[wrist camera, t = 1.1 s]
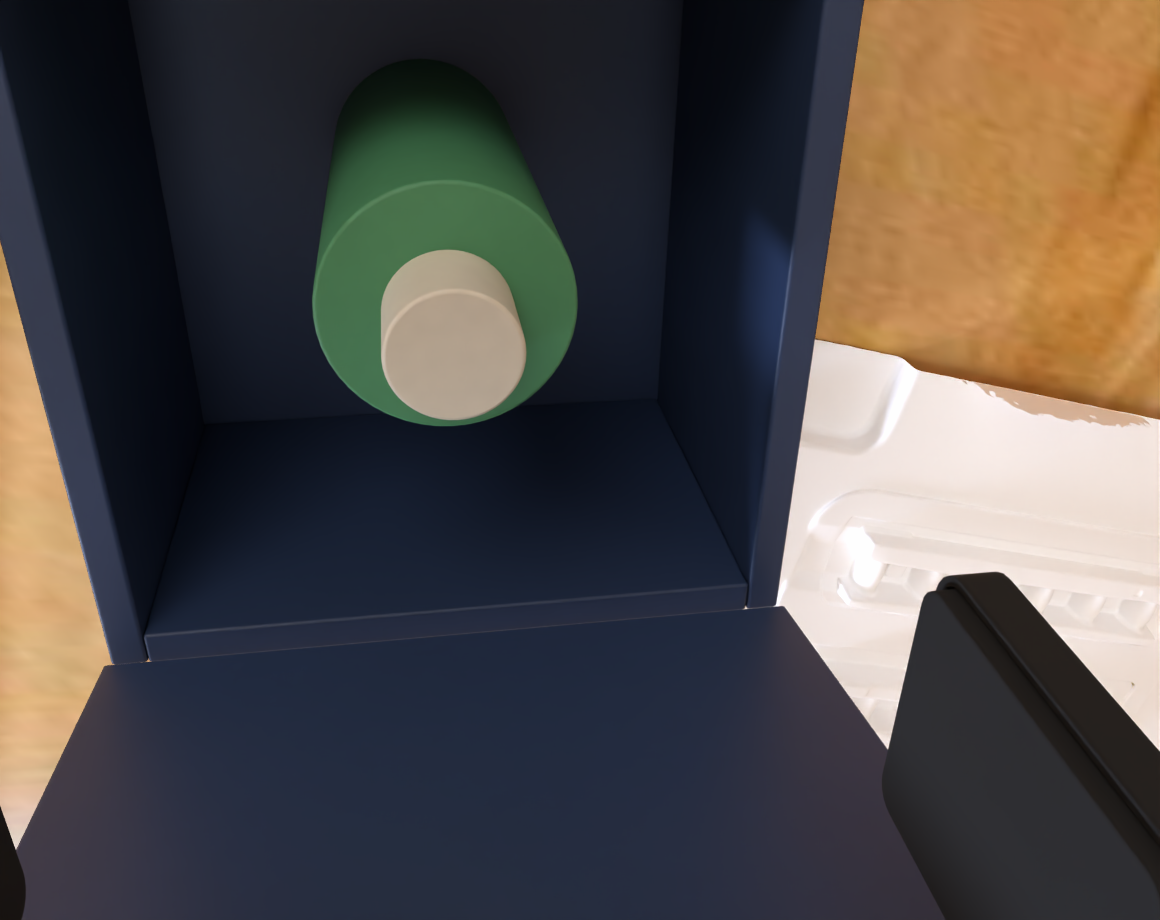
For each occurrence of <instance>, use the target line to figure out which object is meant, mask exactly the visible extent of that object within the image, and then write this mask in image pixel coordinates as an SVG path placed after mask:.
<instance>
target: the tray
mask: <svg viewBox="0 0 1160 920" xmlns="http://www.w3.org/2000/svg"><path fill="white" fill-rule="evenodd" d="M984 572H1000V573H1004V574H1005V575H1006V576H1007V577H1008V578H1009V579H1011V581H1012V582H1013V583H1014V584H1015V585H1016V586H1017V587H1018V589H1019V590H1020V591H1021V592H1022V593H1023V594H1024V596H1025V597H1026V598H1027V599H1028V600H1029V601H1030V602H1031V604H1032V605H1033V606H1034V607H1035V608H1036V609H1037V611H1038V612H1039V613H1040V614H1041V615H1042V616H1043V617H1044V619H1045V620H1046V621H1047V622H1048V623H1049V624H1050V625H1051V627H1052V628H1053V629H1054V630H1055V631H1056V632H1057V634H1058V635H1059V636H1060V637H1061V638H1062V639H1063V640H1064V642H1065V643H1066V644H1067V645H1068V646H1069V647H1070V649H1071V650H1072V651H1073V652H1074V653H1075V654H1076V655H1077V657H1078V658H1079V659H1080V660H1081V661H1082V662H1083V664H1084V665H1085V666H1086V667H1087V668H1088V669H1089V670H1090V672H1091V673H1092V674H1093V675H1094V676H1095V677H1096V678H1097V680H1098V681H1099V682H1100V683H1101V684H1102V685H1103V687H1104V688H1105V689H1106V690H1107V691H1108V692H1109V693H1110V695H1111V696H1112V697H1113V698H1114V699H1115V700H1116V702H1117V703H1118V704H1119V705H1120V706H1121V707H1122V708H1123V710H1124V711H1125V712H1126V713H1127V714H1128V715H1129V716H1130V718H1131V719H1132V720H1133V721H1134V722H1135V723H1136V725H1137V726H1138V727H1139V728H1140V729H1141V730H1142V731H1143V733H1144V734H1145V735H1146V736H1147V737H1148V738H1149V740H1150V741H1151V742H1152V743H1153V744H1154V745H1155V746H1156V748H1157V749H1158V750H1159V751H1160V420H1159V419H1154V418H1149V417H1144V416H1139V415H1135V414H1130V413H1125V412H1120V411H1115V410H1109V409H1104V408H1100V407H1096V406H1091V405H1085V404H1080V403H1076V402H1072V401H1066V400H1062V399H1056V398H1052V397H1046V396H1042V395H1038V394H1032V393H1027V392H1023V391H1018V390H1013V389H1008V388H1003V387H998V386H993V385H988V384H983V383H978V382H973V381H971V382H969V381H968V380H964V379H957V378H953V377H949V376H942V375H939V374H933V373H928V372H924V371H919V370H917V369H915V368H914V367H912V366H911V365H910V364H909V363H908V362H907V361H905V360H904V359H902V358H900V357H898V356H894V355H889V354H881V353H879V352H875V351H870V350H865V349H860V348H856V347H851V346H847V345H841V344H835V343H831V342H826V341H821V340H816V339H815V342H814V349H813V356H812V363H811V369H810V376H809V383H808V390H807V397H806V404H805V411H804V418H803V425H802V431H801V438H800V445H799V452H798V459H797V466H796V473H795V480H794V486H793V493H792V500H791V507H790V514H789V521H788V528H787V535H786V542H785V548H784V555H783V562H782V569H781V576H780V583H779V590H778V597H777V603H776V606H784V607H785V608H786V609H787V611H788V612H789V613H790V615H791V616H792V618H793V619H794V620H795V622H796V623H797V625H798V626H799V627H800V629H801V630H802V631H803V633H804V634H805V636H806V637H807V638H808V640H809V641H810V643H811V644H812V645H813V647H814V648H815V649H816V651H817V652H818V654H819V655H820V656H821V658H822V659H823V660H824V662H825V663H826V665H827V666H828V667H829V669H830V670H831V672H832V673H833V674H834V676H835V677H836V678H837V680H838V681H839V683H840V684H841V685H842V687H843V688H844V690H845V691H846V692H847V694H848V695H849V696H850V698H851V699H852V701H853V702H854V703H855V705H856V706H857V707H858V709H859V710H860V712H861V713H862V714H863V716H864V717H865V719H866V720H867V721H868V723H869V724H870V725H871V727H872V728H873V730H874V731H875V732H876V734H877V735H878V736H879V738H880V739H881V741H882V742H883V743H884V745H885V746H886V748H887V749H888V747H889V743H890V739H891V734H892V730H893V726H894V721H895V717H896V713H897V708H898V704H899V699H900V695H901V691H902V686H903V682H904V678H905V673H906V669H907V665H908V660H909V656H910V652H911V647H912V643H913V638H914V634H915V630H916V625H917V621H918V617H919V612H920V608H921V604H922V601H923V598H924V596H925V595H926V594H927V592H930V591H936V588H937V586H938V583H939V582H940V581H941V580H942V578H943V577H946V576H949V575H961V574H973V573H984ZM774 607H775V606H774ZM744 609H749V608H747V607H746V606H745V608H744ZM752 609H753V608H752ZM1132 683H1133V684H1134V686H1133V685H1132ZM1132 686H1133V688H1132Z"/></svg>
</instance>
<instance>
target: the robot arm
mask: <svg viewBox="0 0 1160 920" xmlns="http://www.w3.org/2000/svg"><path fill="white" fill-rule="evenodd" d="M882 792H883V798H884V801H885V805H886V808H887V810H888V812H889V814H890V816H891V818H892V820H893V822H894V824H895V826H896V827H897V829H898V831H899V833H900V835H901V837H902V839H903V841H904V843H905V844H906V846H907V848H908V850H909V852H910V854H911V856H912V858H913V859H914V861H915V863H916V865H917V867H918V869H919V871H920V873H921V874H922V876H923V878H924V880H925V882H926V884H927V886H928V888H929V890H930V891H931V893H932V895H933V897H934V899H935V901H936V903H937V905H938V906H939V908H940V910H941V912H942V914H943V916H944V918H945V920H1160V751H1159V750H1158V749H1157V748H1156V746H1155V745H1154V744H1153V743H1152V742H1151V741H1150V740H1149V738H1148V737H1147V736H1146V735H1145V734H1144V733H1143V731H1142V730H1141V729H1140V728H1139V727H1138V726H1137V725H1136V723H1135V722H1134V721H1133V720H1132V719H1131V718H1130V716H1129V715H1128V714H1127V713H1126V712H1125V711H1124V710H1123V708H1122V707H1121V706H1120V705H1119V704H1118V703H1117V702H1116V700H1115V699H1114V698H1113V697H1112V696H1111V695H1110V693H1109V692H1108V691H1107V690H1106V689H1105V688H1104V687H1103V685H1102V684H1101V683H1100V682H1099V681H1098V680H1097V678H1096V677H1095V676H1094V675H1093V674H1092V673H1091V672H1090V670H1089V669H1088V668H1087V667H1086V666H1085V665H1084V664H1083V662H1082V661H1081V660H1080V659H1079V658H1078V657H1077V655H1076V654H1075V653H1074V652H1073V651H1072V650H1071V649H1070V647H1069V646H1068V645H1067V644H1066V643H1065V642H1064V640H1063V639H1062V638H1061V637H1060V636H1059V635H1058V634H1057V632H1056V631H1055V630H1054V629H1053V628H1052V627H1051V625H1050V624H1049V623H1048V622H1047V621H1046V620H1045V619H1044V617H1043V616H1042V615H1041V614H1040V613H1039V612H1038V611H1037V609H1036V608H1035V607H1034V606H1033V605H1032V604H1031V602H1030V601H1029V600H1028V599H1027V598H1026V597H1025V596H1024V594H1023V593H1022V592H1021V591H1020V590H1019V589H1018V587H1017V586H1016V585H1015V584H1014V583H1013V582H1012V581H1011V579H1009V578H1008V577H1007V576H1006V575H1005V574H1004V573H1000V572H984V573H973V574H961V575H949V576H946V577H943V578H942V580H941V581H940V582H939V583H938V586H937V588H936V591H930V592H927V594H926V595H925V596H924V598H923V601H922V604H921V608H920V612H919V617H918V621H917V625H916V630H915V634H914V638H913V643H912V647H911V652H910V656H909V660H908V665H907V669H906V673H905V678H904V682H903V686H902V691H901V695H900V699H899V704H898V708H897V713H896V717H895V721H894V726H893V730H892V734H891V739H890V743H889V747H888V752H887V756H886V761H885V765H884V769H883V774H882ZM25 900H26V884H25V877H24V872H23V869H22V867H21V864H20V861H19V858H18V855H17V852H16V850H15V847H14V844H13V841H12V838H11V835H10V833H9V830H8V827H7V824H6V821H5V818H4V815H3V813H2V810H1V807H0V920H21V919H22V916H23V912H24V907H25Z"/></svg>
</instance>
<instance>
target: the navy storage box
mask: <svg viewBox="0 0 1160 920" xmlns="http://www.w3.org/2000/svg"><path fill="white" fill-rule="evenodd" d="M863 5H864V0H0V242H1V245H2V249H3V253H4V257H5V261H6V264H7V268H8V272H9V276H10V279H11V283H12V287H13V291H14V295H15V298H16V302H17V306H18V310H19V314H20V317H21V321H22V325H23V329H24V332H25V336H26V340H27V344H28V348H29V351H30V355H31V359H32V363H33V367H34V370H35V374H36V378H37V382H38V385H39V389H40V393H41V397H42V401H43V404H44V408H45V412H46V416H47V420H48V423H49V427H50V431H51V435H52V438H53V442H54V446H55V450H56V454H57V457H58V461H59V465H60V469H61V472H62V476H63V480H64V484H65V488H66V491H67V495H68V499H69V503H70V507H71V510H72V514H73V518H74V522H75V525H76V529H77V533H78V537H79V541H80V544H81V548H82V552H83V556H84V560H85V563H86V567H87V571H88V575H89V578H90V582H91V586H92V590H93V594H94V597H95V601H96V605H97V609H98V613H99V616H100V620H101V624H102V628H103V631H104V635H105V639H106V643H107V647H108V650H109V654H110V658H111V661H112V663H113V664H115V665H118V664H130V663H141V662H146V661H147V660H148V658H149V660H150V661H152V662H153V661H165V660H176V659H187V658H199V657H210V656H221V655H233V654H244V653H255V652H267V651H278V650H289V649H300V648H312V647H323V646H334V645H346V644H357V643H368V642H380V641H391V640H402V639H414V638H425V637H436V636H447V635H459V634H470V633H481V632H493V631H504V630H515V629H527V628H538V627H549V626H561V625H572V624H583V623H595V622H606V621H617V620H628V619H640V618H651V617H662V616H674V615H685V614H696V613H708V612H719V611H730V610H742V609H744V608H745V606H746V607H747V608H749V609H752V608H764V607H774V606H776V603H777V597H778V590H779V583H780V576H781V569H782V562H783V555H784V548H785V542H786V535H787V528H788V521H789V514H790V507H791V500H792V493H793V486H794V480H795V473H796V466H797V459H798V452H799V445H800V438H801V431H802V425H803V418H804V411H805V404H806V397H807V390H808V383H809V376H810V369H811V363H812V356H813V349H814V342H815V335H816V328H817V321H818V314H819V308H820V301H821V294H822V287H823V280H824V273H825V266H826V259H827V252H828V246H829V239H830V232H831V225H832V218H833V211H834V204H835V197H836V190H837V184H838V177H839V170H840V163H841V156H842V149H843V142H844V135H845V129H846V122H847V115H848V108H849V101H850V94H851V87H852V80H853V73H854V67H855V60H856V53H857V46H858V39H859V32H860V25H861V18H862V12H863ZM411 59H430V60H436V61H441V62H445V63H448V64H451V65H454V66H456V67H458V68H460V69H462V70H464V71H466V72H468V73H469V74H471V75H472V76H474V77H475V78H476V79H478V80H479V81H480V82H481V83H482V84H483V85H484V86H485V87H486V88H487V89H488V90H489V91H490V92H491V93H492V95H493V96H494V97H495V99H496V100H497V102H498V103H499V105H500V107H501V109H502V111H503V113H504V115H505V117H506V119H507V121H508V124H509V126H510V128H511V130H512V132H513V135H514V137H515V139H516V141H517V144H518V146H519V148H520V150H521V152H522V155H523V157H524V159H525V161H526V163H527V166H528V168H529V170H530V172H531V175H532V177H533V179H534V181H535V183H536V186H537V188H538V190H539V192H540V194H541V197H542V199H543V201H544V203H545V206H546V208H547V210H548V212H549V214H550V217H551V219H552V221H553V223H554V225H555V228H556V230H557V232H558V234H559V237H560V239H561V241H562V243H563V245H564V248H565V250H566V252H567V254H568V256H569V259H570V262H571V265H572V268H573V271H574V275H575V280H576V286H577V298H578V308H577V319H576V324H575V328H574V333H573V336H572V339H571V342H570V344H569V347H568V350H567V352H566V354H565V355H564V357H563V359H562V361H561V363H560V365H559V366H558V367H557V369H556V370H555V372H554V373H553V374H552V376H551V377H550V378H549V379H548V380H547V382H546V383H545V384H544V385H543V386H542V387H541V388H540V389H539V390H538V391H537V392H535V393H534V394H533V395H532V396H531V397H530V398H528V399H527V400H526V401H524V402H523V403H521V404H519V405H518V406H516V407H515V408H513V409H511V410H509V411H507V412H505V413H503V414H501V415H499V416H496V417H493V418H490V419H488V420H485V421H481V422H476V423H472V424H467V425H458V426H432V425H423V424H418V423H413V422H409V421H405V420H402V419H399V418H396V417H394V416H391V415H389V414H387V413H385V412H383V411H381V410H379V409H377V408H375V407H373V406H372V405H370V404H369V403H367V402H366V401H364V400H363V399H361V398H360V397H359V396H358V395H357V394H355V393H354V392H353V391H352V390H351V389H350V388H348V386H347V385H346V384H345V383H344V382H343V381H342V380H341V379H340V378H339V376H338V375H337V374H336V372H335V371H334V369H333V368H332V366H331V365H330V364H329V362H328V360H327V358H326V356H325V354H324V352H323V350H322V348H321V346H320V343H319V340H318V337H317V334H316V330H315V325H314V319H313V308H312V295H313V286H314V278H315V271H316V264H317V257H318V250H319V243H320V236H321V229H322V222H323V214H324V207H325V200H326V193H327V186H328V179H329V172H330V165H331V158H332V151H333V144H334V137H335V130H336V126H337V122H338V118H339V115H340V113H341V110H342V108H343V106H344V104H345V102H346V101H347V99H348V97H349V96H350V94H351V93H352V92H353V91H354V89H355V88H356V87H357V86H358V85H359V84H360V83H361V82H362V81H363V80H364V79H365V78H367V77H368V76H369V75H371V74H372V73H373V72H375V71H377V70H379V69H381V68H383V67H384V66H387V65H390V64H393V63H395V62H400V61H404V60H411Z"/></svg>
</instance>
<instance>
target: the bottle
mask: <svg viewBox="0 0 1160 920" xmlns="http://www.w3.org/2000/svg"><path fill="white" fill-rule="evenodd" d="M312 308H313V319H314V325H315V330H316V334H317V337H318V340H319V343H320V346H321V348H322V350H323V352H324V354H325V356H326V358H327V360H328V362H329V364H330V365H331V366H332V368H333V369H334V371H335V372H336V374H337V375H338V376H339V378H340V379H341V380H342V381H343V382H344V383H345V384H346V385H347V386H348V388H350V389H351V390H352V391H353V392H354V393H355V394H357V395H358V396H359V397H360V398H361V399H363V400H364V401H366V402H367V403H369V404H370V405H372V406H373V407H375V408H377V409H379V410H381V411H383V412H385V413H387V414H389V415H391V416H394V417H396V418H399V419H402V420H405V421H409V422H413V423H418V424H423V425H432V426H458V425H467V424H472V423H476V422H481V421H485V420H488V419H490V418H493V417H496V416H499V415H501V414H503V413H505V412H507V411H509V410H511V409H513V408H515V407H516V406H518V405H519V404H521V403H523V402H524V401H526V400H527V399H528V398H530V397H531V396H532V395H533V394H534V393H535V392H537V391H538V390H539V389H540V388H541V387H542V386H543V385H544V384H545V383H546V382H547V380H548V379H549V378H550V377H551V376H552V374H553V373H554V372H555V370H556V369H557V367H558V366H559V365H560V363H561V361H562V359H563V357H564V355H565V354H566V352H567V350H568V347H569V344H570V342H571V339H572V336H573V333H574V328H575V324H576V319H577V308H578V298H577V286H576V280H575V275H574V271H573V268H572V265H571V262H570V259H569V256H568V254H567V252H566V250H565V248H564V245H563V243H562V241H561V239H560V237H559V234H558V232H557V230H556V228H555V225H554V223H553V221H552V219H551V217H550V214H549V212H548V210H547V208H546V206H545V203H544V201H543V199H542V197H541V194H540V192H539V190H538V188H537V186H536V183H535V181H534V179H533V177H532V175H531V172H530V170H529V168H528V166H527V163H526V161H525V159H524V157H523V155H522V152H521V150H520V148H519V146H518V144H517V141H516V139H515V137H514V135H513V132H512V130H511V128H510V126H509V124H508V121H507V119H506V117H505V115H504V113H503V111H502V109H501V107H500V105H499V103H498V102H497V100H496V99H495V97H494V96H493V95H492V93H491V92H490V91H489V90H488V89H487V88H486V87H485V86H484V85H483V84H482V83H481V82H480V81H479V80H478V79H476V78H475V77H474V76H472V75H471V74H469V73H468V72H466V71H464V70H462V69H460V68H458V67H456V66H454V65H451V64H448V63H445V62H441V61H436V60H430V59H411V60H404V61H400V62H395V63H393V64H390V65H387V66H384V67H383V68H381V69H379V70H377V71H375V72H373V73H372V74H371V75H369V76H368V77H367V78H365V79H364V80H363V81H362V82H361V83H360V84H359V85H358V86H357V87H356V88H355V89H354V91H353V92H352V93H351V94H350V96H349V97H348V99H347V101H346V102H345V104H344V106H343V108H342V110H341V113H340V115H339V118H338V122H337V126H336V130H335V137H334V144H333V151H332V158H331V165H330V172H329V179H328V186H327V193H326V200H325V207H324V214H323V222H322V229H321V236H320V243H319V250H318V257H317V264H316V271H315V278H314V286H313V295H312Z"/></svg>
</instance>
